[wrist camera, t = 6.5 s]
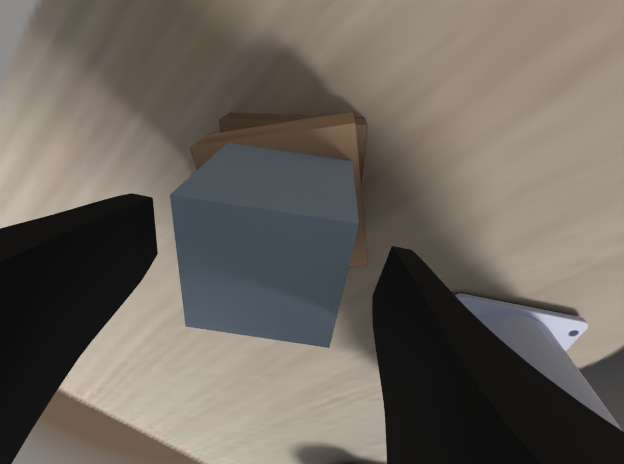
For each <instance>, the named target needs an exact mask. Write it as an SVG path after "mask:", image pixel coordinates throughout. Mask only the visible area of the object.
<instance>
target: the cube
mask: <svg viewBox="0 0 624 464" xmlns="http://www.w3.org/2000/svg"><path fill="white" fill-rule="evenodd" d="M170 198H171V207H172V215H173V224H174V232H175V240H176V249H177V257H178V266H179V274H180V283H181V291H182V299H183V308H184V316H185V325H186V326H187V327H194V328H200V329H207V330H214V331H220V332H227V333H234V334H241V335H247V336H254V337H261V338H267V339H274V340H281V341H287V342H294V343H301V344H308V345H314V346H321V347H328V348H329V347H330V342H331V338H332V334H333V330H334V326H335V322H336V317H337V313H338V309H339V305H340V301H341V297H342V292H343V288H344V284H345V280H346V276H347V271H348V267H349V263H350V259H351V255H352V251H353V246H354V242H355V238H356V234H357V230H358V226H359V218H358V209H357V199H356V190H355V180H354V171H353V161H347V160H341V159H334V158H327V157H321V156H314V155H307V154H301V153H294V152H287V151H281V150H274V149H268V148H261V147H254V146H247V145H241V144H234V143H227V144H226V145H225V146H224V147H223V148H221V149H220V150H219V151H218V152H217V153H216V154H215V155H214V156H213V157H211V158H210V159H209V160H208V161H207V162H206V163H205V164H204V165H203V166H202V167H200V168H199V169H198V170H197V171H196V172H195V173H194V174H193V175H192V176H191V177H189V178H188V179H187V180H186V181H185V182H184V183H183V184H182V185H181V186H179V187H178V188H177V189H176V190H175V191H174V192H173V193H172V194H171V195H170Z"/></svg>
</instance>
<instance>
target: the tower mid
mask: <svg viewBox="0 0 624 464" xmlns="http://www.w3.org/2000/svg"><path fill="white" fill-rule="evenodd" d="M227 143H234V144H241V145H247V146H254V147H261V148H268V149H274V150H281V151H287V152H294V153H301V154H307V155H314V156H321V157H327V158H334V159H341V160H347V161H353V171H354V180H355V190H356V199H357V209H358V218H359V226H358V230H357V234H356V238H355V242H354V246H353V251H352V255H351V259H350V263H349V267H353V266H365V265H368V258H367V247H366V236H365V225H364V214H363V203H362V192H361V181H360V170H359V159H358V148H357V137H356V126H355V119H354V114H353V112H347V113H341V114H334V115H328V116H322V117H315V118H309V119H302V120H296V121H290V122H283V123H277V124H270V125H264V126H258V127H251V128H245V129H238V130H232V131H226V132H219V133H213V134H208V135H207V136H206V137H204V138H203V139H202V140H200V141H199V142H197V143H196V144H195V145H193V146H192V147H190V150H191V153H192V156H193V159H194V161H195V164H196V167H197V170H198V169H199V168H200V167H202V166H203V165H204V164H205V163H206V162H207V161H208V160H209V159H210V158H211V157H213V156H214V155H215V154H216V153H217V152H218V151H219V150H220V149H221V148H223V147H224V146H225V145H226V144H227Z"/></svg>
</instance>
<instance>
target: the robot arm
mask: <svg viewBox="0 0 624 464" xmlns="http://www.w3.org/2000/svg"><path fill="white" fill-rule="evenodd" d="M157 254H158V253H157V241H156V230H155V219H154V208H153V198H152V197H147V196H142V195H137V194H126V195H121V196H117V197H113V198H109V199H105V200H102V201H98V202H95V203H91V204H88V205H85V206H81V207H78V208H74V209H71V210H67V211H64V212H61V213H57V214H54V215H50V216H46V217H43V218H39V219H35V220H31V221H27V222H24V223H20V224H16V225H12V226H8V227H5V228H1V229H0V464H11V463H12V462H13V460H14V458H15V457H16V455H17V453H18V452H19V450H20V448H21V446H22V445H23V443H24V442H25V440H26V438H27V437H28V435H29V433H30V431H31V430H32V428H33V427H34V425H35V424H36V422H37V421H38V419H39V417H40V416H41V414H42V413H43V411H44V410H45V408H46V406H47V405H48V403H49V402H50V400H51V398H52V397H53V395H54V394H55V392H56V391H57V389H58V388H59V386H60V385H61V383H62V382H63V380H64V379H65V377H66V376H67V374H68V373H69V371H70V370H71V368H72V367H73V366H74V364H75V363H76V361H77V360H78V358H79V357H80V356H81V354H82V353H83V352H84V350H85V349H86V348H87V346H88V345H89V344H90V342H91V341H92V340H93V339H94V338H95V336H96V335H97V334H98V333H99V332H100V330H101V329H102V328H103V327H104V326H105V324H106V323H107V322H108V321H109V320H110V318H111V317H112V316H113V315H114V314H115V312H116V311H117V310H118V309H119V308H120V306H121V305H122V304H123V303H124V302H125V300H126V299H127V298H128V297H129V295H130V294H131V293H132V292H133V290H134V289H135V288H136V287H137V286H138V284H139V283H140V282H141V280H142V279H143V277H144V276H145V274H146V273H147V271H148V269H149V268H150V266H151V264H152V263H153V261H154V259H155V257H156V256H157ZM372 313H373V331H374V338H375V346H376V352H377V359H378V366H379V373H380V379H381V386H382V393H383V401H384V410H385V425H386V445H387V464H624V432H623V431H622V429H621V428H620V427H619V425H618V424H617V422H616V421H615V420H614V418H613V417H612V416H611V414H610V413H609V411H608V410H607V409H606V407H605V406H604V404H603V403H602V402H601V400H600V399H599V398H598V396H597V395H596V393H595V392H594V391H593V389H592V388H591V387H590V385H589V384H588V382H587V381H586V380H585V378H584V377H583V375H582V374H581V373H580V371H579V370H578V368H577V367H576V366H575V364H574V363H573V362H572V360H571V359H570V357H569V356H568V355H567V353H566V352H565V351H566V350H567V349H568V348H569V347H570V346H571V345H572V344H573V343H574V342H575V341H576V340H577V338H578V337H579V336H580V335H581V334H582V333H583V332H584V331H585V330H586V329H587V327H588V323H587V322H586V321H585V320H584V318H582V317H578V316H573V315H568V314H563V313H558V312H553V311H548V310H543V309H538V308H533V307H527V306H522V305H517V304H512V303H507V302H502V301H497V300H492V299H487V298H482V297H477V296H472V295H467V294H460V293H459V294H456V295H454V294H453V293H452V292H451V291H450V290H449V289H448V288H447V287H446V286H445V285H444V283H443V282H442V281H441V280H440V279H439V278H438V277H437V276H436V275H435V274H434V273H433V271H432V270H431V269H430V268H429V267H428V266H427V265H426V264H425V263H424V262H423V261H422V259H421V258H420V257H419V256H418V255H417V254H416V253H415V252H413V251H412V250H409V249H404V248H399V247H394V246H392V247H391V250H390V253H389V255H388V258H387V260H386V263H385V265H384V268H383V271H382V273H381V276H380V278H379V281H378V283H377V286H376V288H375V291H374V294H373V305H372Z"/></svg>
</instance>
